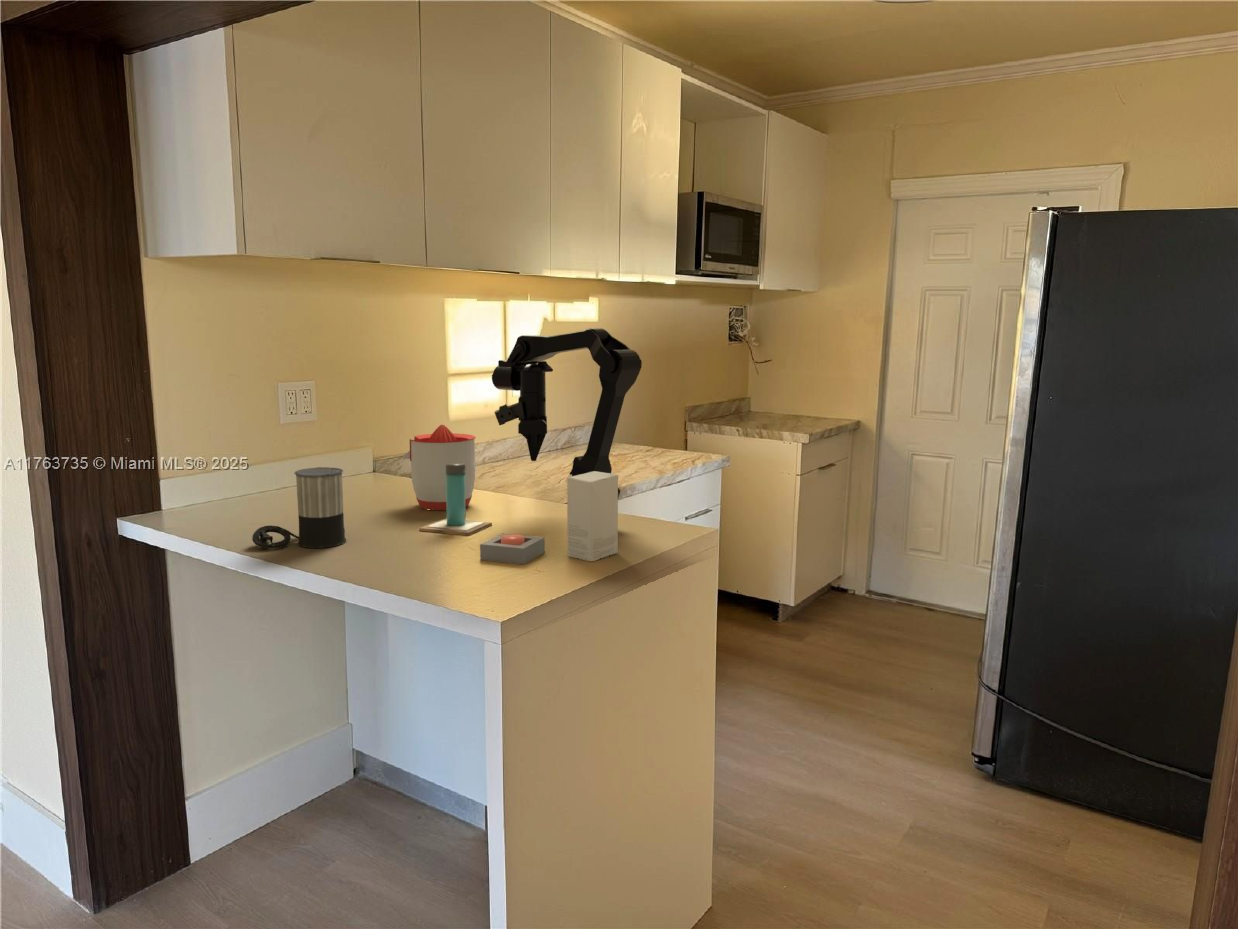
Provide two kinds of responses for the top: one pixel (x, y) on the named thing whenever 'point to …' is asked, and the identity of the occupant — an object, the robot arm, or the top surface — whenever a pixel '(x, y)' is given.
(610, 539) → the skincare box
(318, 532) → the milk frother
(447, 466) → the marker
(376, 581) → the top surface
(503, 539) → the button
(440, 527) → the brown picture frame
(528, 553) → the button box
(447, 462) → the citrus juicer
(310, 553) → the top surface
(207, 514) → the top surface
